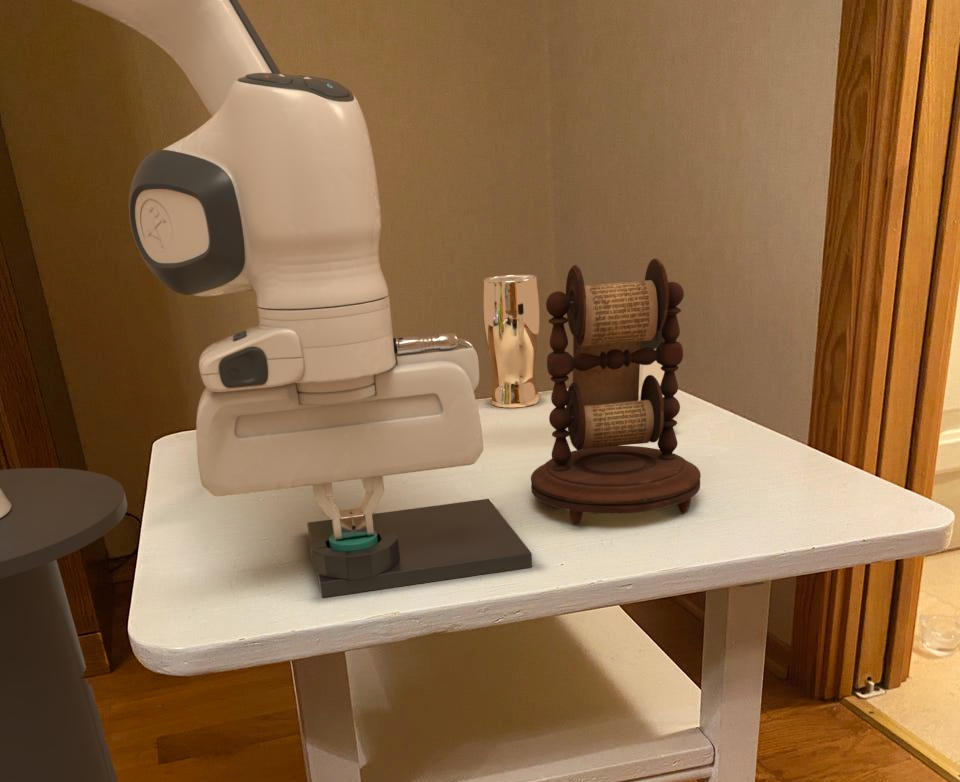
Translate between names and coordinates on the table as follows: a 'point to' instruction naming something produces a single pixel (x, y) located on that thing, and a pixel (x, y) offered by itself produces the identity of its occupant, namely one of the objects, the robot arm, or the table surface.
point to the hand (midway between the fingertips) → (353, 535)
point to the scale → (420, 548)
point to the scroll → (615, 399)
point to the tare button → (353, 543)
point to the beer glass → (512, 337)
